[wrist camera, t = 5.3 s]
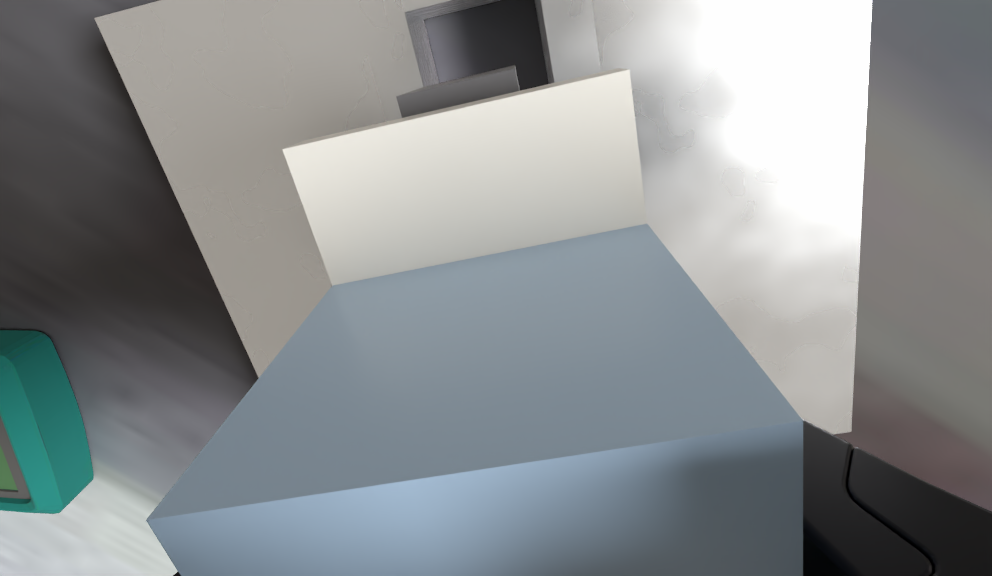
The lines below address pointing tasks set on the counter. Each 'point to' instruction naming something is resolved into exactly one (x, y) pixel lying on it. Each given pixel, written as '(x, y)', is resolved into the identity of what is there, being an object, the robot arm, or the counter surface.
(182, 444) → the counter surface
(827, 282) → the white flat slab
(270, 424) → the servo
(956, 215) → the counter surface
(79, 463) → the digital multimeter
